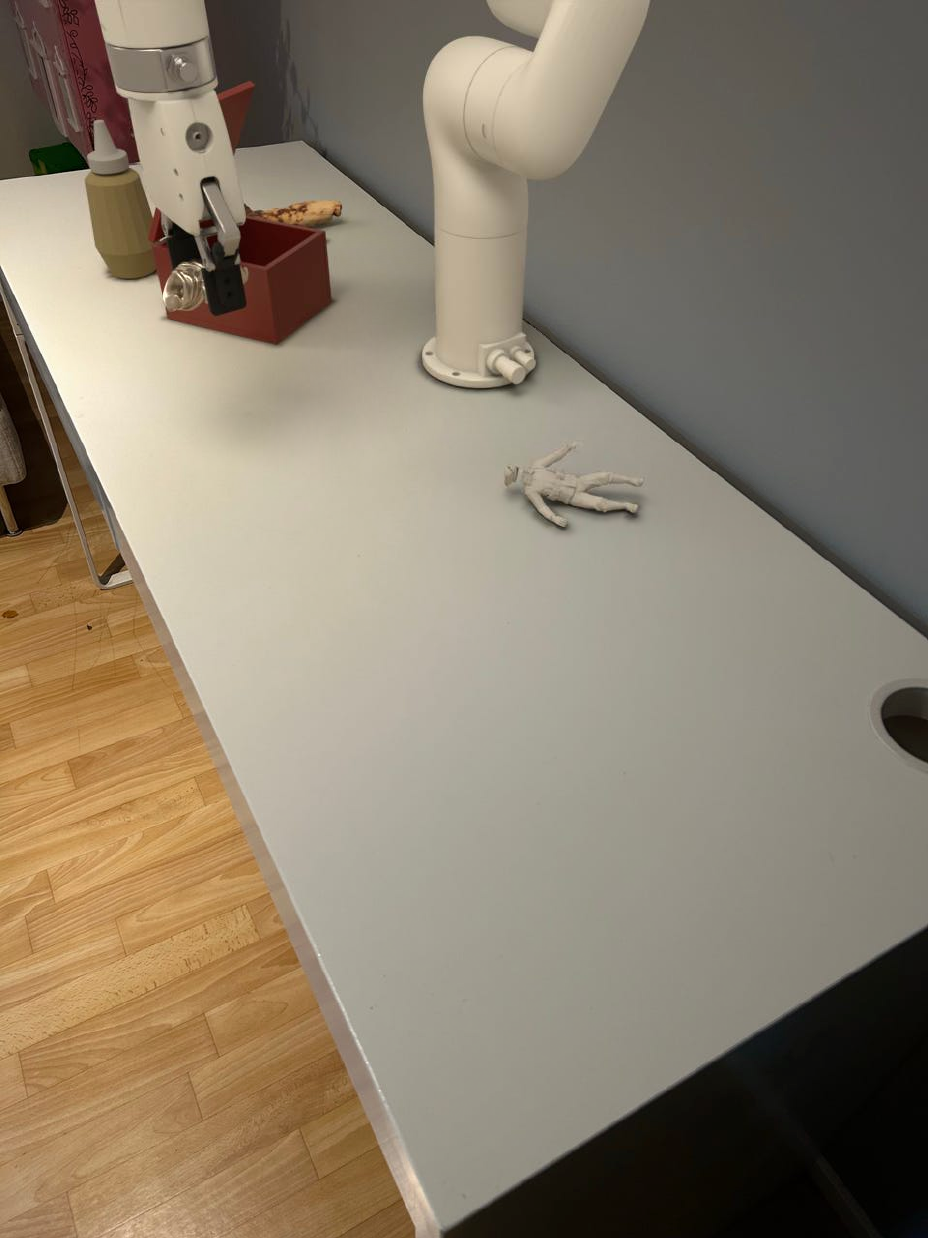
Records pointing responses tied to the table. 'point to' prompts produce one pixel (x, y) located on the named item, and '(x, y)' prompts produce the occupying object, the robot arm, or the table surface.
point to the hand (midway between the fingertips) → (210, 293)
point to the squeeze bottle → (118, 209)
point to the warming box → (266, 280)
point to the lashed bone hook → (300, 213)
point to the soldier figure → (567, 485)
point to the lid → (234, 115)
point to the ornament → (188, 286)
